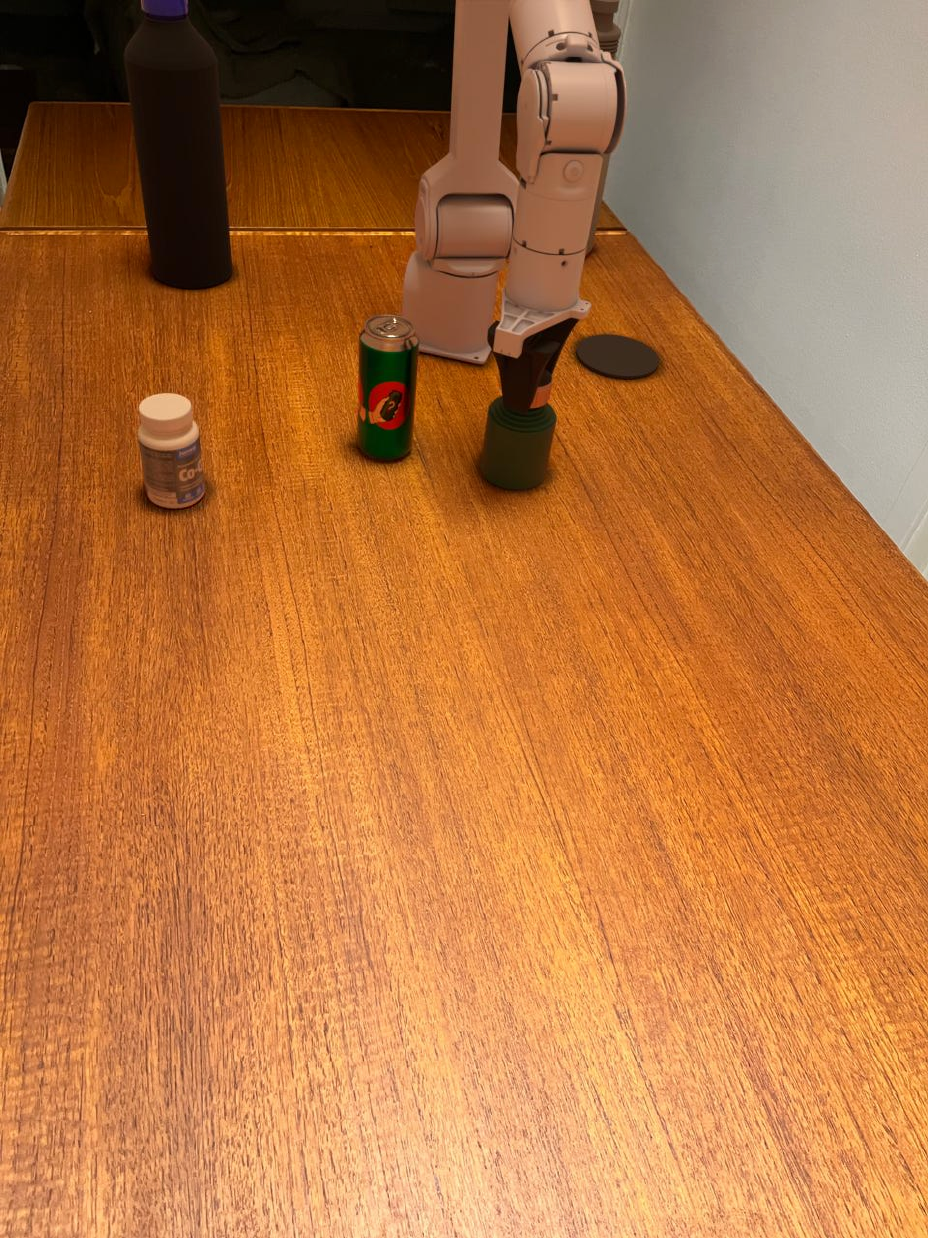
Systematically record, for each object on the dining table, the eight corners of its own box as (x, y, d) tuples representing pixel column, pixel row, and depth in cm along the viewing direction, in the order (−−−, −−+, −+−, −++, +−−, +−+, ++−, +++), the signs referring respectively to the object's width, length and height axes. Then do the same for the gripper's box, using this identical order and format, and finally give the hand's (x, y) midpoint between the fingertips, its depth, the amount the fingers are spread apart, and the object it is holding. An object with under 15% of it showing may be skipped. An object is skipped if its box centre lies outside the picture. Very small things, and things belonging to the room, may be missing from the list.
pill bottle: (192, 514, 79) (181, 427, 74) (137, 503, 80) (122, 415, 74) (214, 482, 83) (205, 395, 77) (161, 471, 83) (149, 384, 77)
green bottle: (473, 481, 86) (485, 392, 80) (488, 445, 91) (501, 358, 84) (538, 496, 86) (555, 408, 80) (551, 459, 90) (568, 373, 84)
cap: (495, 399, 82) (498, 378, 81) (512, 378, 85) (515, 358, 83) (539, 413, 81) (543, 392, 80) (554, 392, 84) (558, 371, 82)
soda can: (423, 449, 89) (432, 329, 81) (383, 470, 86) (389, 347, 78) (385, 425, 92) (390, 306, 83) (345, 445, 89) (346, 323, 80)
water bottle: (502, 232, 127) (533, -19, 107) (567, 226, 130) (608, -19, 111) (539, 265, 120) (579, 5, 101) (606, 258, 124) (657, 5, 105)
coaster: (569, 368, 103) (569, 365, 102) (583, 330, 109) (583, 327, 109) (653, 386, 102) (654, 383, 101) (662, 347, 108) (663, 344, 108)
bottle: (248, 271, 112) (231, -13, 93) (194, 296, 106) (163, 0, 87) (191, 248, 115) (162, -32, 95) (135, 272, 109) (93, -20, 90)
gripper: (569, 288, 68) (540, 452, 77) (626, 220, 78) (595, 372, 87) (476, 262, 69) (458, 426, 79) (544, 199, 79) (521, 351, 89)
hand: (525, 396), depth 83 cm, fingers closed on cap, 4 cm apart
